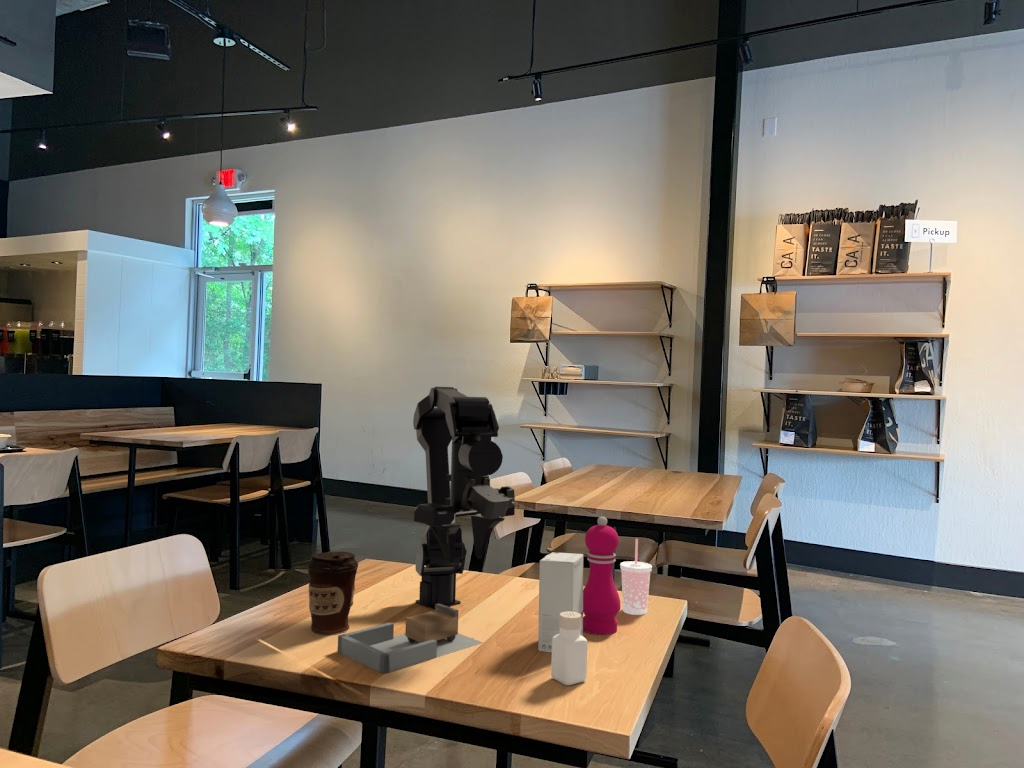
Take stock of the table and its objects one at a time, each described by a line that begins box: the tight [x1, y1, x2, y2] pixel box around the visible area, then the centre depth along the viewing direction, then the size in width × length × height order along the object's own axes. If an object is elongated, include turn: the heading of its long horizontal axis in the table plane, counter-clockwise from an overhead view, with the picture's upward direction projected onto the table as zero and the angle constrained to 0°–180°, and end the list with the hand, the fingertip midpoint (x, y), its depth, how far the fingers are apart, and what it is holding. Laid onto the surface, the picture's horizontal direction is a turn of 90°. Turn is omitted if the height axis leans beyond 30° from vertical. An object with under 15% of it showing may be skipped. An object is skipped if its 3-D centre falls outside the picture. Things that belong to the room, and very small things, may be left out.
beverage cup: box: [619, 538, 653, 616], centre depth 141 cm, size 6×6×14 cm
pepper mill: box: [583, 516, 622, 636], centre depth 129 cm, size 7×7×20 cm
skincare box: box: [537, 551, 584, 653], centre depth 120 cm, size 8×6×15 cm
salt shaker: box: [550, 611, 588, 686], centre depth 106 cm, size 4×4×10 cm
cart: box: [404, 604, 459, 643], centre depth 119 cm, size 7×5×5 cm
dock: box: [337, 622, 484, 675], centre depth 116 cm, size 20×12×3 cm, turn 136°
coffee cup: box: [307, 551, 359, 636], centre depth 124 cm, size 9×8×13 cm
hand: (464, 560), depth 125 cm, fingers open, 6 cm apart
